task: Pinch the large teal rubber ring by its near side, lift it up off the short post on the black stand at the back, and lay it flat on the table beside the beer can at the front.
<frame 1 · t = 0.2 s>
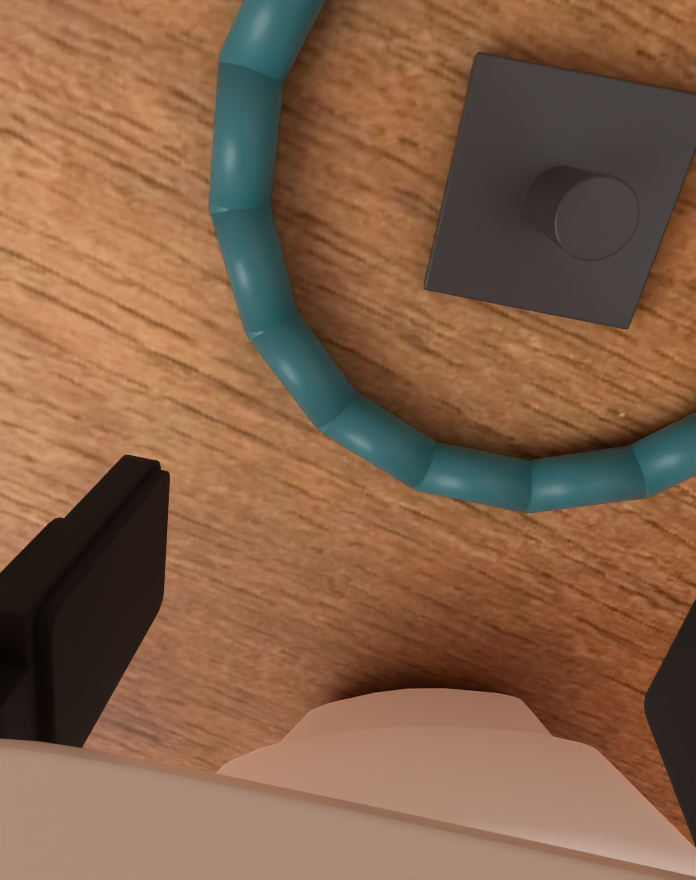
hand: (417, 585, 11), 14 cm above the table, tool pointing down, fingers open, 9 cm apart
post: (552, 198, 21), on the table
bowl: (427, 756, 33), on the table
ring: (558, 201, 20), point 1 cm above the table
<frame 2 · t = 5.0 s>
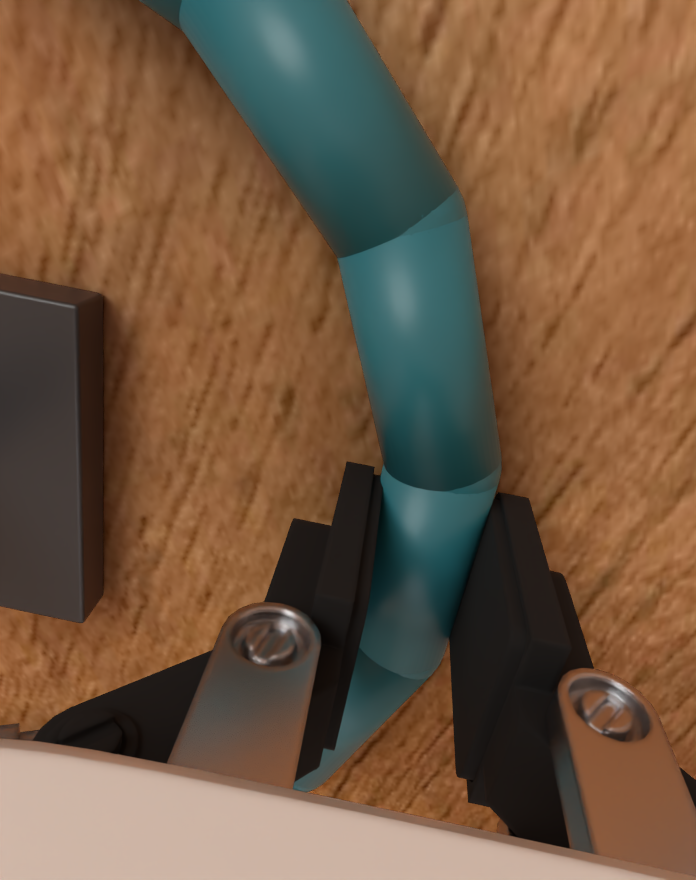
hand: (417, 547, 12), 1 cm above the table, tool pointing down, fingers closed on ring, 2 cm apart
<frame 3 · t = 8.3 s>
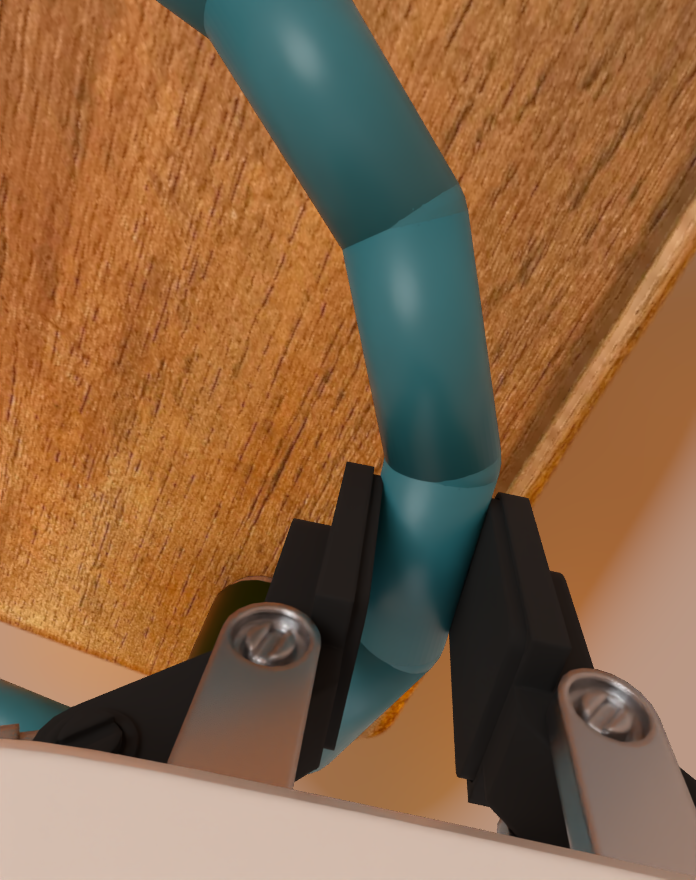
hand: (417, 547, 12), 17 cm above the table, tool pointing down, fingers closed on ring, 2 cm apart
beer can: (263, 608, 35), on the table
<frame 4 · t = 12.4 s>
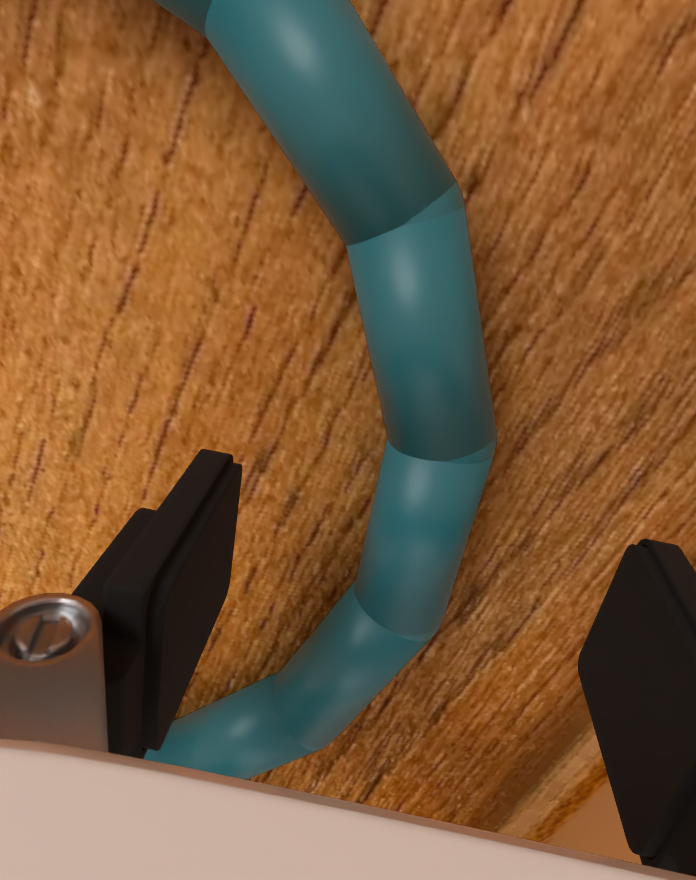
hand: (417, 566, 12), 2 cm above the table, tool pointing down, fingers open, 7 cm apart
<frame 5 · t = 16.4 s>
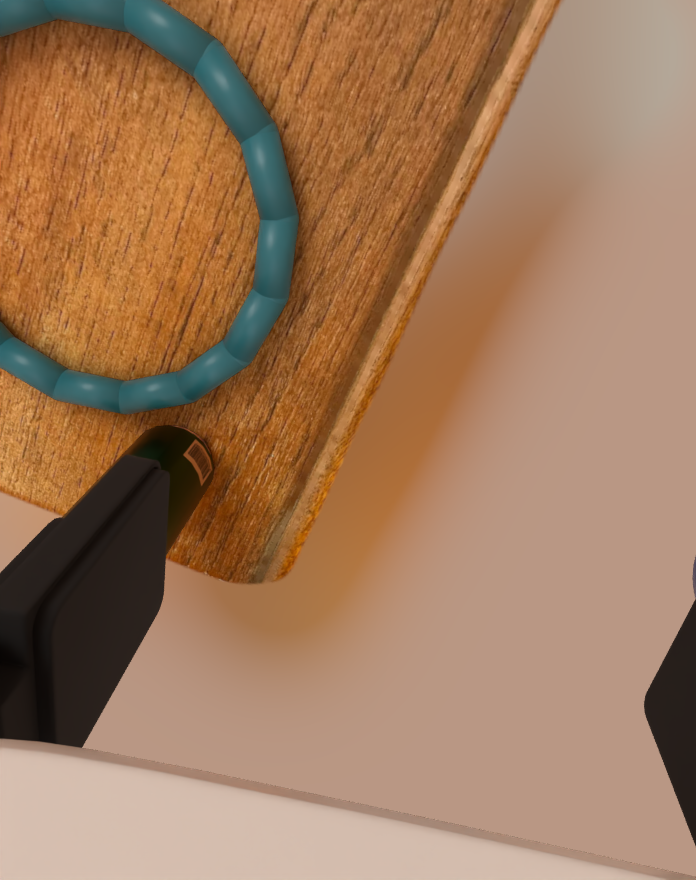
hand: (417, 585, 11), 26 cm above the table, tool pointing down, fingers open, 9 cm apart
beer can: (178, 457, 41), on the table
ring: (93, 221, 34), point 1 cm above the table
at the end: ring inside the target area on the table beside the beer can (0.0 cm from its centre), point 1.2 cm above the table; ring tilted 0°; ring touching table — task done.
